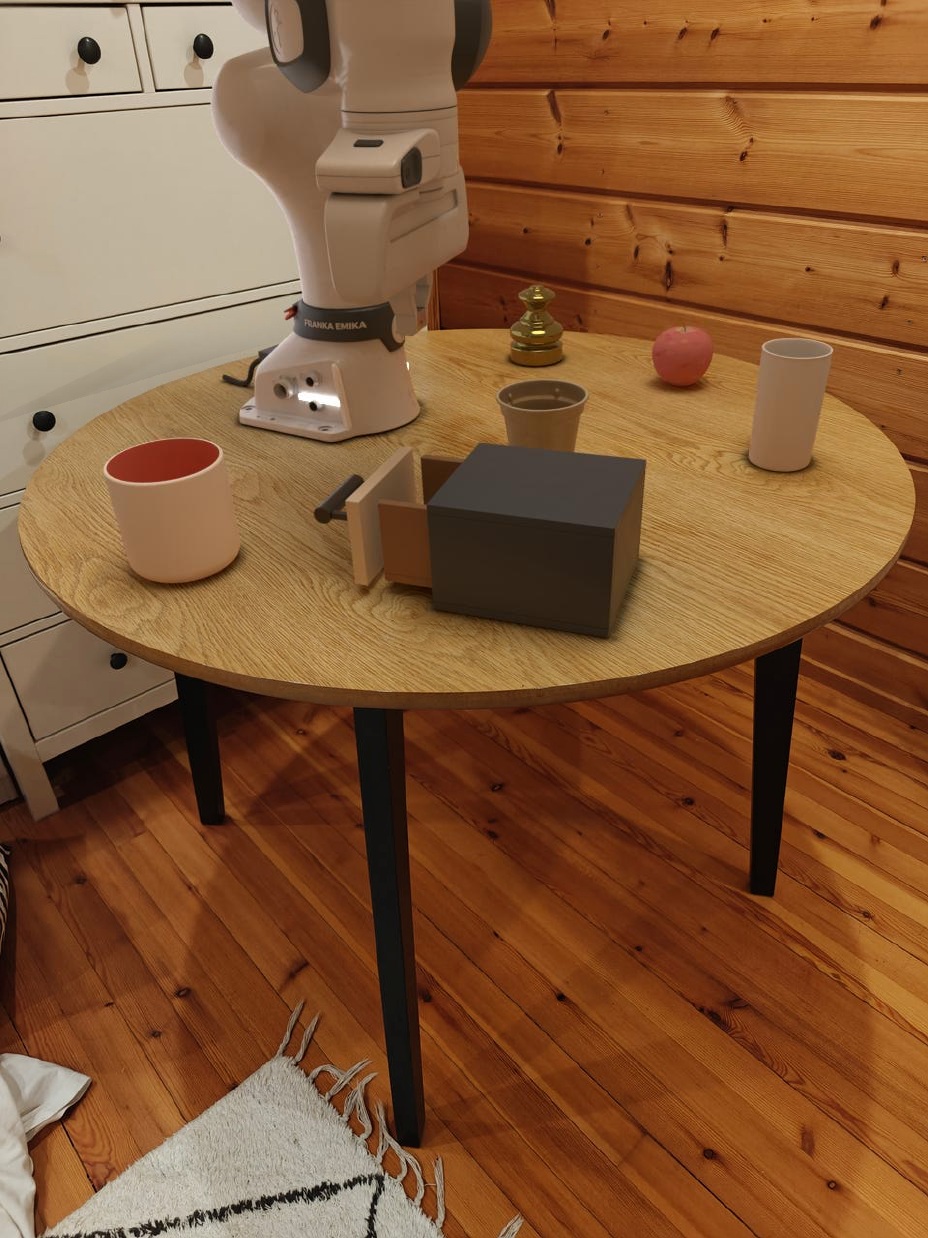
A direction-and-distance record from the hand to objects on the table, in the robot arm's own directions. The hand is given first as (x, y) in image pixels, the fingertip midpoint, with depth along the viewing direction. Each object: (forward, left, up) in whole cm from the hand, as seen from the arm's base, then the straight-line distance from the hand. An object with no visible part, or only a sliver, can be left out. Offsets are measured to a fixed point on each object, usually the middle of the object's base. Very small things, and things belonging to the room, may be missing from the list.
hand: (412, 330), depth 77 cm
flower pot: (+8, +14, -19) cm, 24 cm away
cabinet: (+14, -8, -18) cm, 24 cm away
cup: (-18, -13, -19) cm, 29 cm away
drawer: (+4, -8, -17) cm, 20 cm away
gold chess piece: (-3, +51, -19) cm, 54 cm away
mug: (+31, +25, -19) cm, 44 cm away
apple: (+18, +45, -19) cm, 52 cm away
